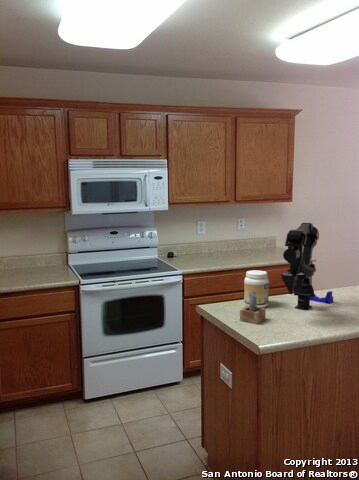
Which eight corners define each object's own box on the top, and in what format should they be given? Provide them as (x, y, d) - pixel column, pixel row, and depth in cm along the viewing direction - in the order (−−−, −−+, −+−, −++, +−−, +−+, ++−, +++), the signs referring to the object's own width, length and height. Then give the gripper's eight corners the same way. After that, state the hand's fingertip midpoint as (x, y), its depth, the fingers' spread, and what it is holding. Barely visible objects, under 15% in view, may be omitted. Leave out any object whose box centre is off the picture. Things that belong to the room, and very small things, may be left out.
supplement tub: (268, 309, 204) (269, 275, 201) (243, 308, 206) (243, 274, 204) (268, 302, 216) (268, 269, 213) (244, 301, 218) (244, 269, 216)
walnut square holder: (248, 315, 195) (248, 305, 194) (265, 319, 190) (265, 308, 189) (240, 320, 188) (240, 310, 188) (256, 324, 183) (256, 313, 182)
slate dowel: (255, 318, 191) (255, 290, 189) (257, 320, 188) (257, 292, 186) (248, 319, 190) (248, 291, 189) (250, 321, 187) (250, 293, 185)
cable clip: (333, 302, 214) (333, 291, 213) (329, 304, 210) (329, 292, 210) (311, 298, 222) (311, 287, 221) (307, 300, 219) (307, 288, 218)
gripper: (305, 263, 175) (304, 299, 178) (321, 256, 190) (319, 290, 192) (280, 260, 182) (280, 295, 184) (297, 254, 197) (296, 286, 199)
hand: (295, 291), depth 190 cm, fingers open, 9 cm apart
